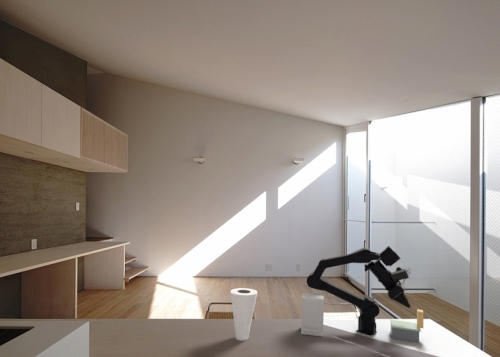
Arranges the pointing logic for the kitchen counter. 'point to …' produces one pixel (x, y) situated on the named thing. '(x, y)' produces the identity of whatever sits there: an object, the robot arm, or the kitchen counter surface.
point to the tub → (405, 335)
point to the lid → (410, 323)
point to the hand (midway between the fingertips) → (408, 304)
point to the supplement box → (312, 314)
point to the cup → (243, 310)
